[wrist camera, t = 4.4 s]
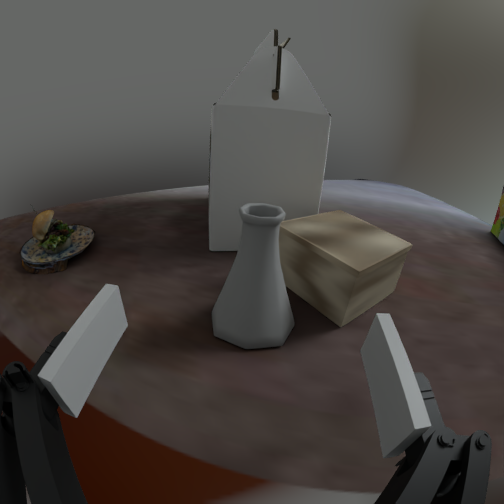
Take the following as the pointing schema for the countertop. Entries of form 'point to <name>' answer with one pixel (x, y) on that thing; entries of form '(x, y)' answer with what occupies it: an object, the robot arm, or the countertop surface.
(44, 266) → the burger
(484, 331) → the countertop surface
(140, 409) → the countertop surface
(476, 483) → the robot arm
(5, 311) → the countertop surface
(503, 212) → the snack box
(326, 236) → the beech box
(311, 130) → the gable box
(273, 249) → the flask
